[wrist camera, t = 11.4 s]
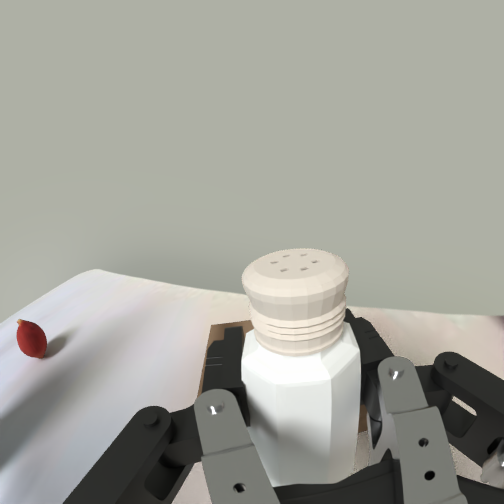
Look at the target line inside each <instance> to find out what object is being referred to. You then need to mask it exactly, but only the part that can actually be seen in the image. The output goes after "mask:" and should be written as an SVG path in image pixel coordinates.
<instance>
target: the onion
mask: <svg viewBox="0 0 504 504" xmlns="http://www.w3.org/2000/svg"><path fill="white" fill-rule="evenodd" d="M17 323H18V324H19V327H18V330H17V341H18V345H19V347H20V349H21V351H22V352H23V353H24V354H26V355H27V356H30V357H35V358H43V357H44V354H45V351H46V348H47V339H46V336H45V333H44V331H43V330H42V329H41V328H40V327H39V326H38V325H37V324H35V323H33V322H29V321H25V320H21V319H19V320H18V321H17Z"/></svg>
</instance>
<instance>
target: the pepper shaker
mask: <svg viewBox="0 0 504 504" xmlns="http://www.w3.org/2000/svg"><path fill="white" fill-rule="evenodd" d="M348 274H349V268H348V266H347V265H346V263H345V262H344V261H343V259H341V258H340V257H339V256H337V255H335V254H332V253H329V252H326V251H322V250H317V249H307V248H305V249H304V248H301V249H300V248H298V249H287V250H282V251H277V252H274V253H270V254H268V255H265V256H263V257H261V258H259V259H257V260H255V261H253V262H252V263H250V264H249V265H248V267H247V268H246V269H245V271H244V272H243V275H242V283H243V287H244V289H245V292H246V294H247V296H248V298H249V300H250V301H249V310H250V316H251V322H252V324H253V326H254V329H253V330H251V331H249V332H248V333H246V337H245V343H244V349H243V354H242V361H241V372H242V381H243V384H244V389H245V394H246V398H247V403H248V408H249V413H250V427H247V430H248V432H249V435H250V438H251V440H252V442H253V443H254V445H255V447H256V450H257V452H258V454H259V457H260V459H261V462H262V464H263V466H264V469H265V471H266V473H267V476H268V478H269V480H270V482H271V485H272V487H277V486H285V485H291V484H332V483H337V482H339V481H341V480H343V479H345V478H347V477H348V476H349V475H350V474H351V473H352V472H353V470H354V463H355V455H356V446H357V436H358V424H359V410H360V389H361V361H360V349H359V347H358V344H357V342H356V339H355V336H354V334H353V331H352V329H351V326H350V323H347V322H344V321H343V319H344V317H345V308H346V296H345V294H344V293H345V289H346V286H347V283H348Z"/></svg>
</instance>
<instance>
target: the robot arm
mask: <svg viewBox="0 0 504 504" xmlns="http://www.w3.org/2000/svg"><path fill="white" fill-rule="evenodd" d="M343 321H344V322H347V323H350V326H351V329H352V331H353V334H354V336H355V339H356V342H357V344H358V347H359V349H360V361H361V389H360V405H365V407H366V409H367V426H368V437H369V450H370V457H369V463H368V466H367V467H366V468H364V469H362V470H360V471H358V472H357V473H355V474H353V475H351V476H349V477H347V478H345V479H343V480H341V481H339V482H337V483H332V484H291V485H285V486H277V487H272V485H271V482H270V480H269V478H268V476H267V473H266V471H265V469H264V466H263V464H262V462H261V459H260V457H259V454H258V452H257V450H256V447H255V445H254V443H253V442H252V440H251V438H250V435H249V432H248V430H247V427H250V413H249V408H248V403H247V398H246V394H245V389H244V384H243V381H242V372H241V361H242V354H243V349H244V343H245V337H244V332H243V327H242V326H236V327H227V328H225V329H224V340H215V341H213V342H212V344H211V345H210V346H209V348H208V350H207V357H206V358H207V359H206V364H205V365H206V366H205V371H204V378H203V385H202V392H201V395H200V396H199V397H198V398H197V399H196V400H195V403H194V404H193V405H192V406H190V407H188V408H186V409H183V410H179V411H175V412H172V413H169V412H168V411H167V410H166V409H165V408H162V407H159V406H149V407H145V408H143V409H141V410H139V411H138V412H137V413H136V414H135V415H134V416H133V418H132V419H131V420H130V421H129V423H128V424H127V425H126V426H125V428H124V429H123V430H122V431H121V433H120V434H119V435H118V436H117V438H116V439H115V440H114V441H113V443H112V444H111V445H110V446H109V447H108V449H107V450H106V451H105V452H104V454H103V455H102V456H101V457H100V459H99V460H98V461H97V462H96V463H95V465H94V466H93V467H92V468H91V470H90V471H89V472H88V473H87V474H86V476H85V477H84V478H83V479H82V481H81V482H80V483H79V484H78V485H77V487H76V488H75V489H74V490H73V492H72V493H71V494H70V495H69V496H68V498H67V499H66V500H65V501H64V502H63V504H171V503H172V501H173V500H174V498H175V496H176V495H177V493H178V491H179V490H180V488H181V486H182V485H183V483H184V481H185V479H186V478H187V476H188V474H189V472H190V471H191V469H192V467H193V465H194V463H196V462H200V461H202V466H203V470H204V474H205V478H206V482H207V486H208V490H209V494H210V497H211V501H212V504H504V380H502V379H501V378H499V377H497V376H496V375H494V374H492V373H490V372H489V371H487V370H485V369H484V368H482V367H480V366H479V365H477V364H475V363H473V362H472V361H470V360H468V359H467V358H465V357H463V356H461V355H460V354H458V353H455V352H443V353H441V354H439V355H438V356H437V357H436V358H435V361H434V364H433V365H426V366H414V364H413V363H412V362H411V361H410V360H408V359H406V358H403V357H397V356H394V355H393V353H392V352H391V350H390V349H389V348H388V346H387V345H386V343H385V342H384V341H383V339H382V338H381V337H380V335H379V334H378V332H377V331H375V328H374V327H373V326H372V324H371V323H370V322H369V321H367V320H365V319H364V318H362V317H359V318H355V317H354V315H353V314H352V313H351V311H350V310H349V309H348V308H347V309H345V317H344V319H343ZM454 396H455V397H457V398H458V399H460V400H461V401H463V402H464V403H466V404H467V405H469V406H470V407H471V408H473V409H474V410H475V411H476V414H477V416H475V415H473V414H471V413H470V412H468V411H467V410H465V409H464V408H462V407H461V406H460V405H458V404H457V403H455V402H454V401H452V399H453V397H454ZM449 443H450V444H451V445H453V446H454V447H455V448H457V449H458V450H459V451H460V452H462V453H463V454H464V455H466V456H467V457H468V458H470V459H471V460H472V461H474V462H475V463H476V464H478V465H479V466H480V467H482V472H483V473H482V474H481V481H482V482H483V483H487V482H489V484H490V485H487V484H483V483H480V482H477V481H474V480H470V479H467V478H464V477H462V476H459V475H456V471H455V467H454V462H453V458H452V454H451V450H450V446H449Z"/></svg>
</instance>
